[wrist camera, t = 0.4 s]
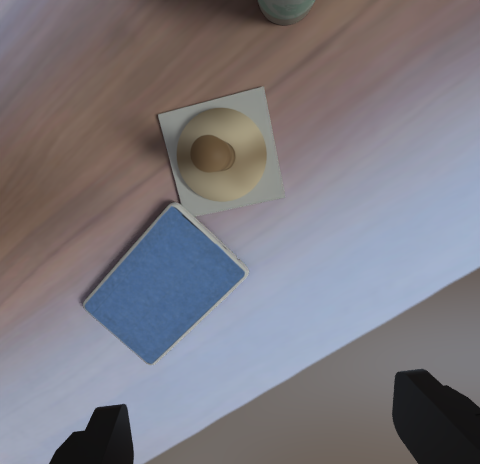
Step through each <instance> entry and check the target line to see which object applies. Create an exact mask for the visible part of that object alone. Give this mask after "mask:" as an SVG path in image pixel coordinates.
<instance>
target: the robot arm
mask: <svg viewBox="0 0 480 464" xmlns="http://www.w3.org/2000/svg"><path fill="white" fill-rule="evenodd" d="M392 417H393V422H394V425H395V429H396V431H397V433H398V435H399V437H400V438H401V440H402V441H403V443H404V444H405V445H406V447H407V448H408V450H409V451H410V453H411V454H412V455H413V457H414V458H415V460H416V461H417V462H418V464H480V408H479V407H478V406H477V405H476V404H475V403H474V402H472V401H471V400H470V399H469V398H468V397H466V396H464V395H463V394H461V393H459V392H458V391H456V390H454V389H452V388H451V387H449V386H447V385H446V386H443V385H442V384H441V383H440V382H439V381H437V380H436V379H435V378H434V377H433V376H432V375H431V374H430V373H429V372H428V371H426V370H424V369H417V370H408V371H401V372H397V373H396V375H395V384H394V397H393V410H392ZM133 460H134V450H133V442H132V436H131V429H130V422H129V416H128V410H127V406H126V405H125V404H120V405H112V406H104V407H97V408H96V409H95V410H94V412H93V414H92V416H91V418H90V421H89V423H88V425H87V427H86V429H85V431H77V432H73V433H72V434H71V435H70V436H69V437H68V438H67V440H66V441H65V442H64V443H63V444H62V445H61V446H60V447H59V448H58V449H57V450H56V451H55V453H54V455H53V457H52V459H51V461H50V463H49V464H133Z"/></svg>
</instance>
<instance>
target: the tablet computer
mask: <svg viewBox="0 0 480 464" xmlns="http://www.w3.org/2000/svg"><path fill="white" fill-rule="evenodd" d="M248 274H249V270H248V268H247V266H246V265H245V264H244V263H243V262H242V261H241V260H240V259H237V256H236V255H235V254H234V253H232V252H231V251H230V250H229V249H228V248H227V247H226V246H225V245H224V244H223V243H222V242H221V241H220V240H219V239H218V238H217V237H216V236H215V235H213V234H212V233H211V232H210V231H209V230H208V229H207V228H206V227H205V226H204V225H203V224H202V223H201V222H200V221H198V220H197V219H196V218H195V217H194V216H193V215H192V214H191V213H190V212H189V211H187V210H186V209H185V208H184V207H183V206H182V205H181V204H179V203H177V202H173V203H171V204H169V205H168V206H167V207H166V208H165V209H164V211H163V212H162V213H161V214H160V215H159V216H158V217H157V218H156V220H155V221H154V222H153V223H152V224H151V225H150V226H149V228H148V229H147V230H146V231H145V232H144V233H143V234H142V236H141V237H140V238H139V239H138V240H137V241H136V242H135V244H134V245H133V246H132V247H131V248H130V249H129V250H128V251H127V253H126V254H125V255H124V256H123V257H122V258H121V259H120V261H119V262H118V263H117V264H116V265H115V266H114V267H113V269H112V270H111V271H110V272H109V273H108V274H107V275H106V277H105V278H104V279H103V280H102V281H101V282H100V284H99V285H98V286H97V287H96V288H95V289H94V290H93V292H92V293H91V294H90V295H89V296H88V297H87V298H86V300H85V301H84V303H83V308H84V310H85V311H86V312H88V313H89V314H90V315H91V316H92V317H93V318H95V319H96V320H97V321H98V322H99V323H100V324H101V325H103V326H104V327H105V328H106V329H107V330H108V331H110V332H111V333H112V334H113V335H114V336H115V337H116V338H118V339H119V340H120V341H121V342H122V343H123V344H125V345H126V346H127V347H128V348H129V349H130V350H131V351H133V352H134V353H135V354H136V355H137V356H138V357H140V358H141V359H142V360H143V361H144V362H145V363H147V364H149V365H154V364H156V363H157V362H158V361H159V360H160V359H161V358H162V357H164V356H165V355H166V354H167V353H168V352H169V351H170V350H171V349H172V348H173V347H174V346H175V345H176V344H177V343H178V342H179V341H181V340H182V339H183V338H184V337H185V336H186V335H187V334H188V333H189V332H190V331H191V330H192V329H193V328H194V327H195V326H196V325H197V324H198V323H200V322H201V321H202V320H203V319H204V318H205V317H206V316H207V315H208V314H209V313H210V312H211V311H212V310H213V309H214V308H215V307H217V306H218V305H219V304H220V303H221V302H222V301H223V300H224V299H225V298H226V297H227V296H228V295H229V294H230V293H231V292H232V291H233V290H234V289H235V288H236V287H237V286H238V285H239V284H240V283H241V282H242V281H243V280H244V279H245V278H246V277H247V276H248Z"/></svg>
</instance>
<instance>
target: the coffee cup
mask: <svg viewBox="0 0 480 464" xmlns="http://www.w3.org/2000/svg"><path fill="white" fill-rule="evenodd" d="M314 2H315V0H258V3H259V6H260V9H261V11H262V13H263V14H264V16H265V17H266V18H267V19H268V20H270V21H271V22H273V23H275V24H278V25H291V24H294V23H296V22H298V21H300V20H301V19H303V18H304V17H305V16H306V15H307V14H308V12H309V11H310V9H311V8H312V6H313V4H314Z"/></svg>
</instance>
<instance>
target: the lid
mask: <svg viewBox="0 0 480 464" xmlns="http://www.w3.org/2000/svg"><path fill="white" fill-rule="evenodd" d="M266 160H267V150H266V144H265V141H264V138H263V135H262V133H261V131H260V130H259V128H258V127H257V125H256V124H255V123H254V122H253V121H252V120H251V119H250V118H249V117H247V116H246V115H244V114H243V113H241V112H239V111H236V110H233V109H229V108H214V109H209V110H206V111H204V112H202V113H200V114H198V115H197V116H195V117H194V118H193V119H192V120H190V121H189V123H188V124H187V125H186V126H185V128H184V129H183V131H182V133H181V135H180V138H179V141H178V145H177V163H178V168H179V171H180V173H181V176H182V178H183V179H184V181H185V182H186V184H187V185H188V186H189V187H190V188H191V189H192V190H193V191H194V192H195V193H197V194H198V195H200V196H202V197H203V198H206V199H208V200H212V201H218V202H226V201H232V200H236V199H238V198H241V197H243V196H244V195H246V194H247V193H249V192H250V191H251V190H252V189H253V188H254V187H255V186H256V185H257V183H258V182H259V181H260V179H261V177H262V175H263V173H264V170H265V166H266Z"/></svg>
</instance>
